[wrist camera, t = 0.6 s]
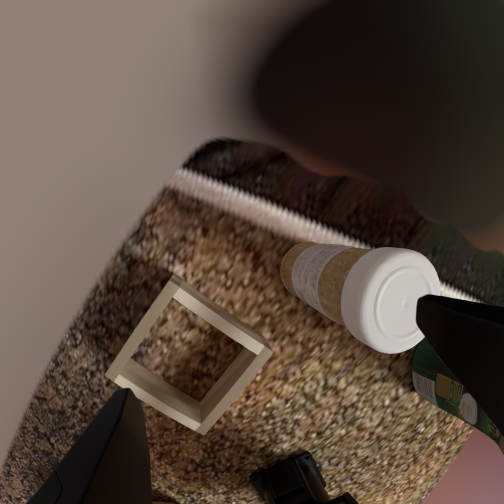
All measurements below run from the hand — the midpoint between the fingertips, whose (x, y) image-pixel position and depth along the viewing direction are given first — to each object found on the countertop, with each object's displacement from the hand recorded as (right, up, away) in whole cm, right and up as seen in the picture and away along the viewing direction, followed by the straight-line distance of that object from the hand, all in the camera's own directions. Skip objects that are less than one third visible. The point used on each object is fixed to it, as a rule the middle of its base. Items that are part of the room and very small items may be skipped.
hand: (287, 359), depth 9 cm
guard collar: (-6, -5, +16) cm, 17 cm away
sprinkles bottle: (+3, +2, +17) cm, 17 cm away
